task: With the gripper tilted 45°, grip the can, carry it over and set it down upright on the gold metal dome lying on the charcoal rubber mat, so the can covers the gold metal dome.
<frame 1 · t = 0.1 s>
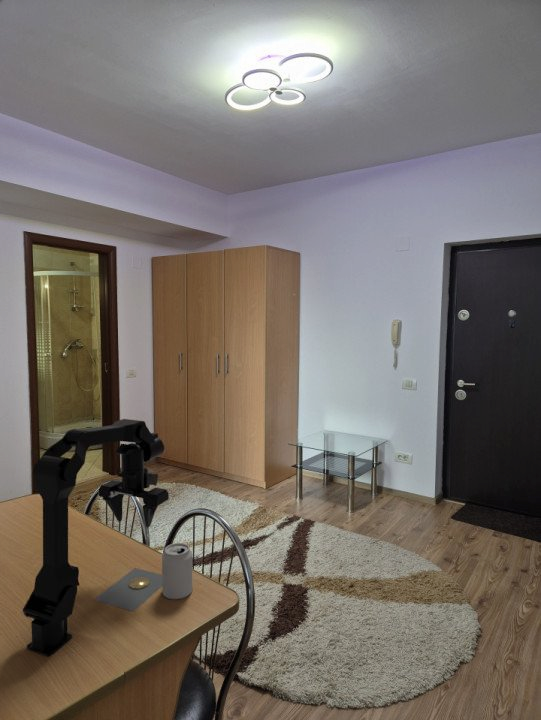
hand: (134, 524, 125), 15 cm above the table, tool pointing down, fingers open, 9 cm apart
mat: (134, 590, 120), on the table
can: (177, 594, 119), on the table
gold metal dome: (139, 583, 122), resting on mat
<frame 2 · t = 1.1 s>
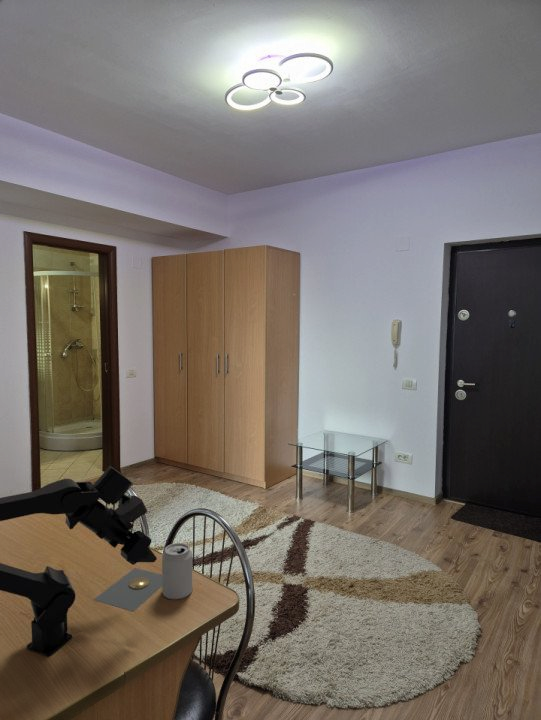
hand: (146, 552, 113), 13 cm above the table, tool tilted 45°, fingers open, 9 cm apart
nothing on the table moved.
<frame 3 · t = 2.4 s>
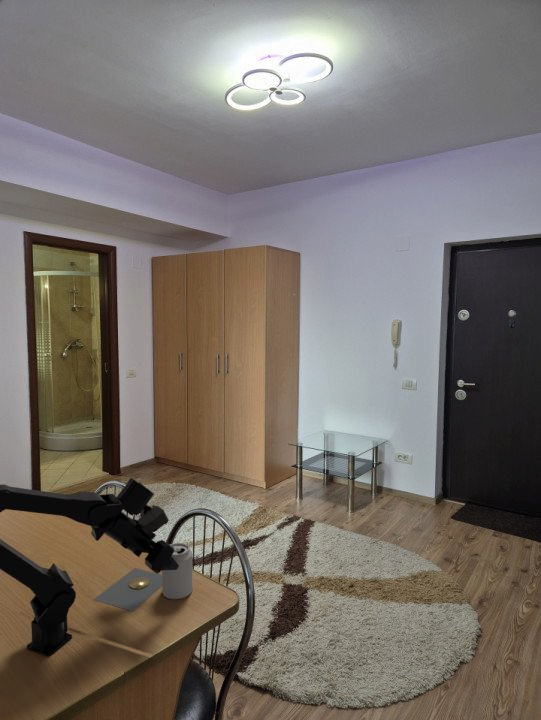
hand: (168, 560, 117), 10 cm above the table, tool tilted 45°, fingers open, 9 cm apart
nothing on the table moved.
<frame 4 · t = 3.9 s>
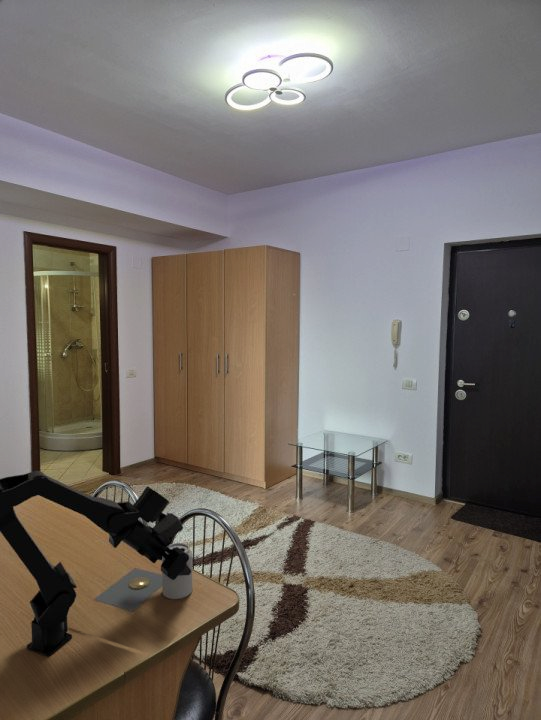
hand: (182, 566, 119), 7 cm above the table, tool tilted 45°, fingers closed on can, 7 cm apart
can: (177, 594, 119), on the table, touching gripper
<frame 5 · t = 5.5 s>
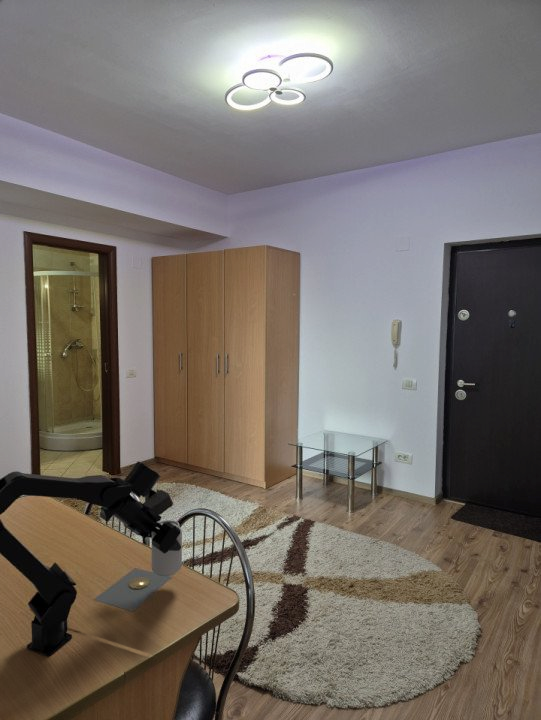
hand: (171, 543, 120), 12 cm above the table, tool tilted 45°, fingers closed on can, 7 cm apart
can: (166, 571, 120), point 5 cm above the table, touching gripper
when the fingers open (8 cm above the table, at t = 7.5 s): can stays where it is, resting on gold metal dome.
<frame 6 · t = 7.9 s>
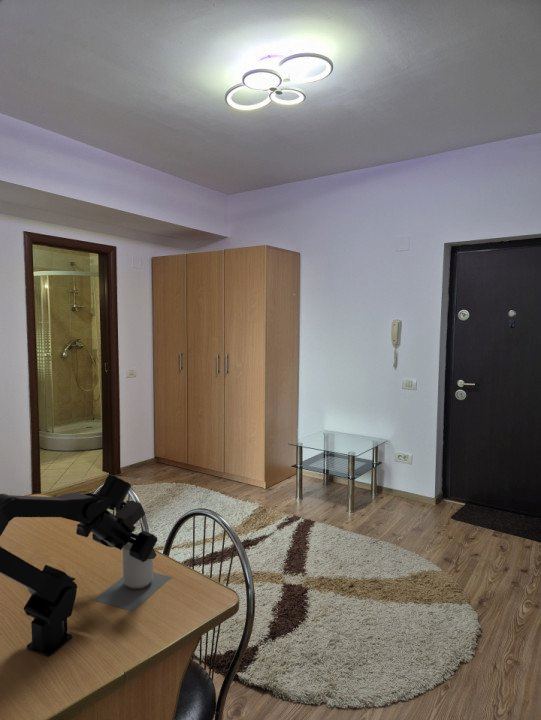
hand: (142, 551, 123), 9 cm above the table, tool tilted 45°, fingers open, 9 cm apart
can: (138, 583, 122), point 1 cm above the table, touching gold metal dome
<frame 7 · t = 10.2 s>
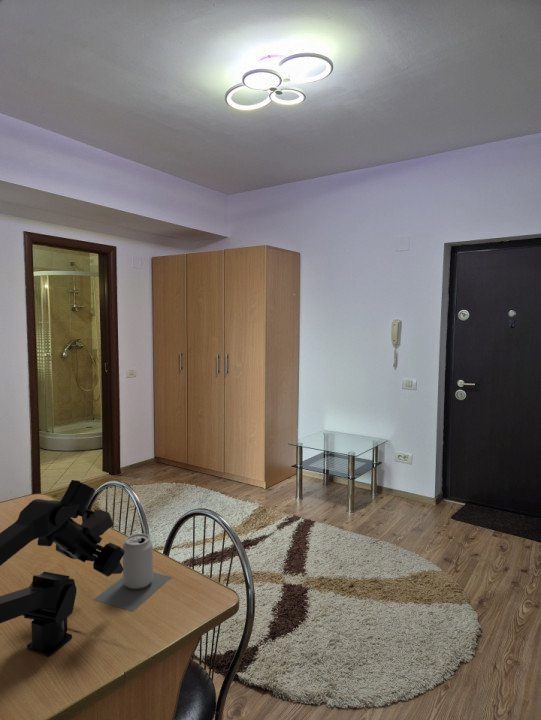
hand: (109, 565, 115), 9 cm above the table, tool tilted 40°, fingers open, 9 cm apart
nothing on the table moved.
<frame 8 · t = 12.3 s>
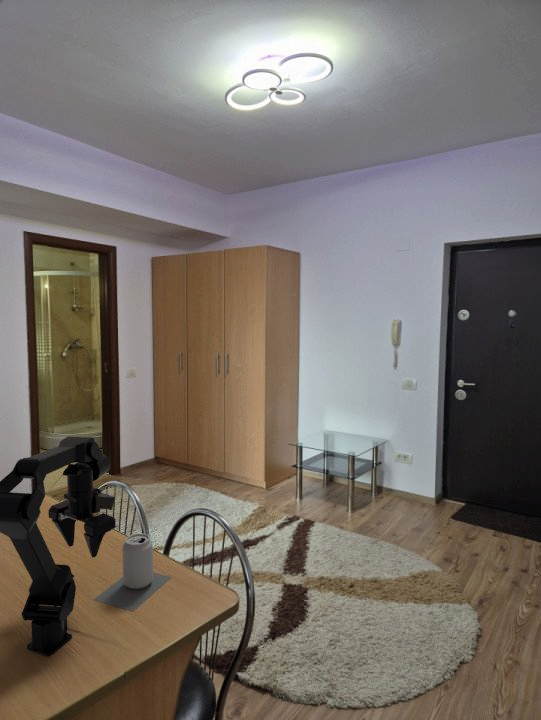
hand: (82, 551, 114), 13 cm above the table, tool pointing down, fingers open, 9 cm apart
nothing on the table moved.
at the end: can 0.2 cm from the gold metal dome (horizontally); can tilted 0°; the gripper is holding nothing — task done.
